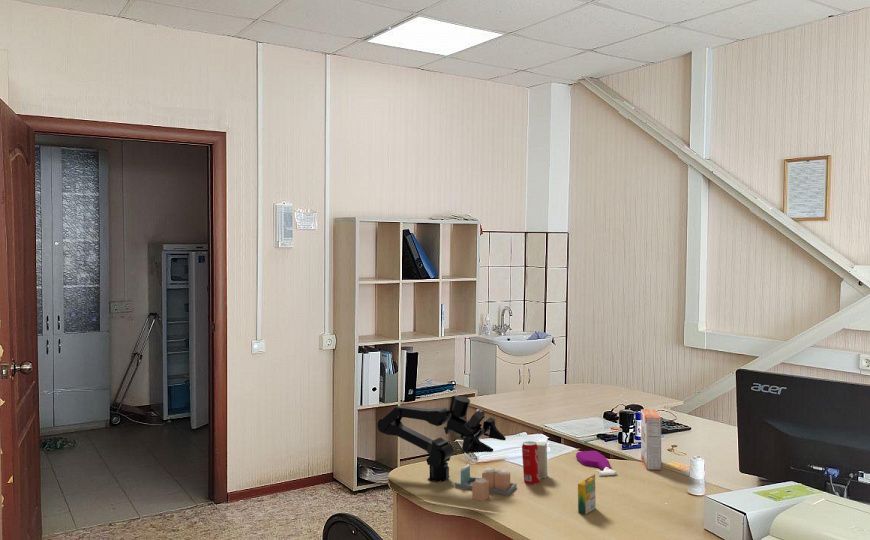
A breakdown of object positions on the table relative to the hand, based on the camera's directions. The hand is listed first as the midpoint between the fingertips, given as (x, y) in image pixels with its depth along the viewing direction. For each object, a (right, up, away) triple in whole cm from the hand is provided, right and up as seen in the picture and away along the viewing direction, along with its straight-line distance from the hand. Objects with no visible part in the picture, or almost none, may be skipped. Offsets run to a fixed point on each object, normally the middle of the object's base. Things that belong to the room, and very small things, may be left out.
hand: (499, 444), depth 249 cm
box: (+17, -16, +15) cm, 28 cm away
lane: (-5, -17, +3) cm, 17 cm away
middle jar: (-3, -16, +2) cm, 17 cm away
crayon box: (+27, -17, -19) cm, 37 cm away
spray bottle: (+42, -16, +28) cm, 52 cm away
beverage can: (+12, -17, +8) cm, 22 cm away
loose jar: (-7, -17, -7) cm, 20 cm away
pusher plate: (-12, -15, +6) cm, 20 cm away
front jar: (+1, -16, 0) cm, 16 cm away
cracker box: (+63, -15, +29) cm, 71 cm away
